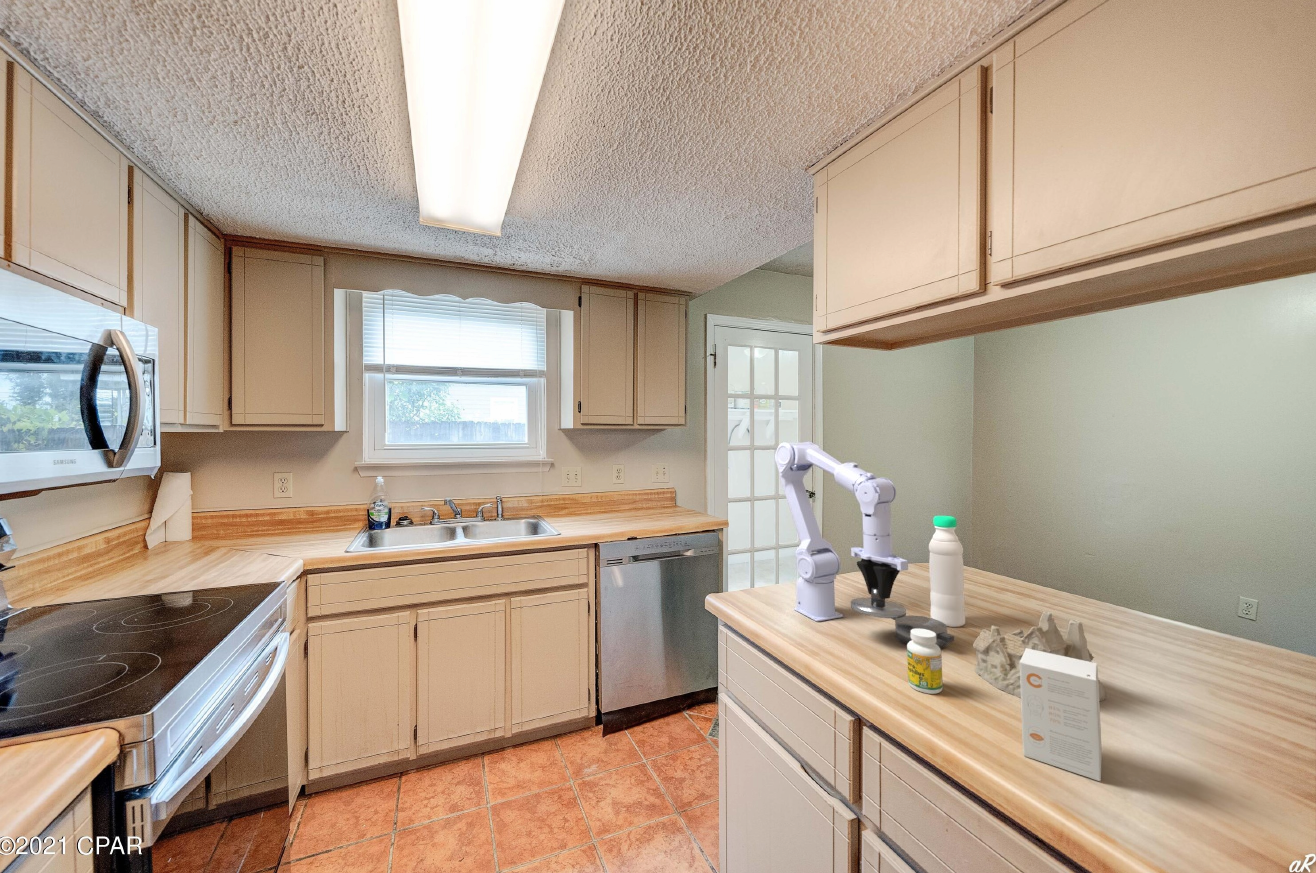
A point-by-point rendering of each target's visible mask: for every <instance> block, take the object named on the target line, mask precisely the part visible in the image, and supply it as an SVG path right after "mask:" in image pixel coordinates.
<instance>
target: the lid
mask: <svg viewBox="0 0 1316 873" xmlns="http://www.w3.org/2000/svg"><path fill="white" fill-rule="evenodd" d="M850 607H851V609H852V610H854V611H856V612H858V613H859V614H862V615H866V616H869V617H876V618H882V619H883V618H884V619H891V618H901V617H904V616H906V615H907V608H906V606H904V605H902V604H901V603H899V602H898V603H897V602H894V601H893V600H887V599H881V598H880V595H879V587H871V594H870V597H856V598H853V599H851V601H850Z"/></svg>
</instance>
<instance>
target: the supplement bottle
mask: <svg viewBox="0 0 1316 873" xmlns="http://www.w3.org/2000/svg"><path fill="white" fill-rule="evenodd" d="M910 637H911V639H912V641H910V642H909V643H908V644H907V645H906V658H907V660H906V661H907V680H908V681H907V682H908V685H909V686H910V687H911V688H912V689H913V690H916V691H917V692H921V693H924V694H927V695H928V694H929V695H931V694H932V695H935V694H939V693H941V692H942V691H943V687H944V686H943V685H944V684H943V662H942V661H943V659H942V649H940V647H939V646H938V645H936V644H935V643H936V641H937V640H936V634H935V633H934V632H933V631H930V630H926V629H912V630H911V636H910Z"/></svg>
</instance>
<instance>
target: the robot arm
mask: <svg viewBox="0 0 1316 873" xmlns="http://www.w3.org/2000/svg"><path fill="white" fill-rule="evenodd" d="M774 460H775V463H776V467H777V470H778V473H779V479H780V484H781V487H782V489H783V493H784V496H785V498H786V502H787V504H788V508H789V511H790V514H791V517H792V520H793V523H794V528H795V531H796V532H797V535H798V538H799V541H800V544H799V545H798V546H797V549H796V550H795V552H794V555H795V558H796V569H797V572H798V574H799V577H798V579H797V581H796V584H795V585H796V588H795V590H796V592H795V594H796V606H795V607H794V608H793V609H794V610H793V611H796V612H797V613H800V614H802V615H804V616H806V617H808V618H809V619H812V620H813V621H815V622H822V621H823V622H824V621H828V620H833V619H840V618H843V617H844V615H843V614H842V613H840V612H837V611H836V601H835V600H836V597H835V596H836V595H835V580H836V579H837V575H838V574H839V573H840V571H841V568H842V564H841V558H840V557H839V555H838V554H837V553H836V552H835V550H834V548H833V544H832V543H830V542H829V541H827V540H826V539H824V538H823V537H822V533H821V530H820V528H819V525H818V522H817V518H816V516H815V513H814V511H813V507H812V504H811V502H810V498H809V496H808V492H807V489H806V487H805V486H806V485H805V484H804V481H803V480H804V478H805V476H806V475H807V474H808V473H809V472H810V471H811V469H812V468H813V466H815V467H817V468H818V469H821V470H823V471H824V472H827V473H828V474H830V475H832V476H834V481H835V482H836V484H837V485H839V486H841V487H842V488H844V489H845V490H847V491H848V492H851V494H853V495H855V498H856V500H857V501H858V503H859V507H860V508H859V509H860V511H861V513H862V541H863V542H862V543H863V545H862V546H863V547H859V546H855V547H854V546H853V547H850V551H851V552H850V555H851V557H854V558H856V557H857V558H860V561H859V560H858V561H856V566H857V567H858V569H859V570H860V572H861V575H862V577H863V580H864V582H865V585H866V589H867V592H868V595H871V587H879V595H880V598H881V599H885V600H887V599H890V598H891V594H892V591H893V587H894V583H895V581H896V579H897V577H898V575H899V574H900V572H902V571H908V570H909V561H908V560H907V559H904V558H901V557H899V556H897V555H896V554H893V542H892V540H893V538H892V512H891V511H892V510H891V509H892V508H891V506H892V505H891V503H893V502H894V501H895V499H896V496H897V489H896V486H895V485H894V483H893V482H892V481H891V480H889V478H887V477H879V478H877V477H876V476H875V474H874V473H872V472H867V471H865V470H864V469H862V468H860V467H859V464H858V463H856V462H845V463H842V462H841V461H839V460H838V459H836V458H835V457H833V456H832V455H830V454H829V453H827V452H826V451H824V450H822V449H821V447H820V446H819V445H817V444H815V443H813V442H811V441H804V442H782V443H780V444H779V445H778V446H777V449H776V451H775V454H774Z"/></svg>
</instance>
